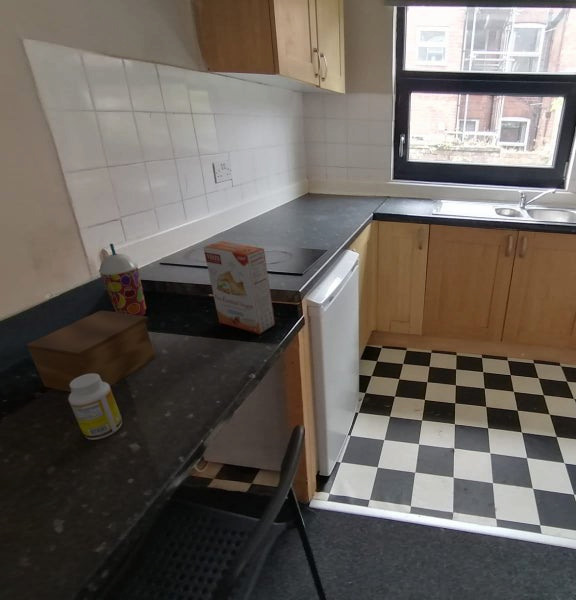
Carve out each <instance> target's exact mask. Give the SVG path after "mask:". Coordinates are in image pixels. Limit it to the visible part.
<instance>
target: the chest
mask: <svg viewBox="0 0 576 600" xmlns="http://www.w3.org/2000/svg"><path fill="white" fill-rule="evenodd" d="M27 349H28V353H29V354H30V356H31V358H32V361H33V363H34V365H35V368H36V370H37V373H38V375H39V377H40V379H41V381H42V384H43V386H44V387H45V388H48V389H49V388H50V389H54V390H60V391H64V392H68V393H71V388H70V383H71V381H73V380H74V379H75V378H77V377H79V376H82V375H86V374H92V373H94V374H98V375H99V376H100V378H101V380H102V382H106V383H108V384H109V386H110V388H111V387H113V386H114V385H116V384H118V382H120V381H121V380H123V379H124V378H126V377H128V376H129V375H131V374H132V373H134V372H135V371H137V370H139V367H140V368H141V367H143V366H144V365H146V364H147V363H149V362H150V361H152V360H153V359H155V358H156V355H155V352H154V347H153V344H152V341H151V338H150V334H149V331H148V327H147V324H146V322H144V323H142V324H140V325H138V326H137V327H135V328H133V329H131V330H129V331H127V332H126V333H124V334H122V335H120V336H118V337H116V338H115V339H113V340H111V341H109V342H107V343H105V344H103V345H102V346H100V347H98V348H96V349H94V350H92V351H91V352H89V353H87V354H85V355H83V356H81V357H76V356H70V355H64V354H58V353H52V352H47V351H41V350H35V349H29V348H27ZM154 357H155V358H154ZM151 359H152V360H151ZM148 361H149V362H148Z"/></svg>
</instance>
